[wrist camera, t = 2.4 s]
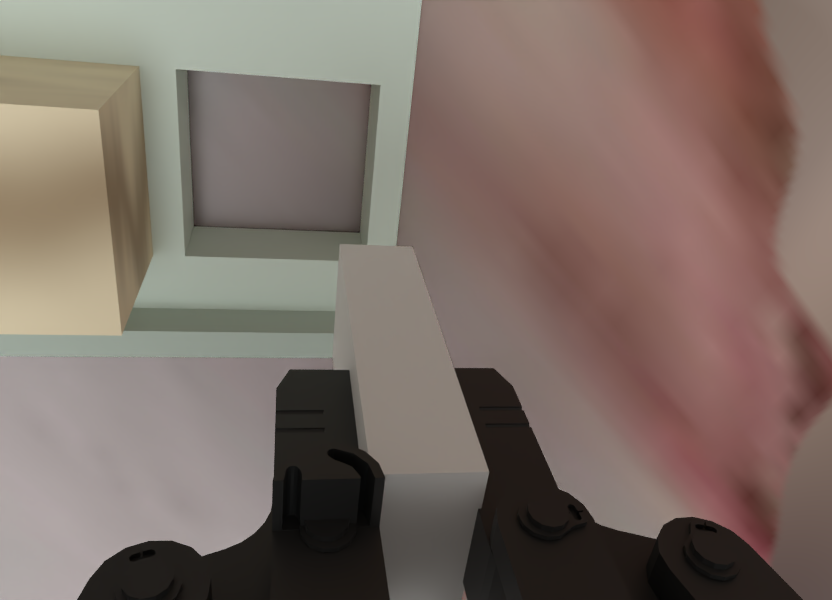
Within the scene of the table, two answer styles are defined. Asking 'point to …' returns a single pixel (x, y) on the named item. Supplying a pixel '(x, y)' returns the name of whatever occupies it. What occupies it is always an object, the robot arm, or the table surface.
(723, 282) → the table surface
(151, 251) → the maple block
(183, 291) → the sage tray
